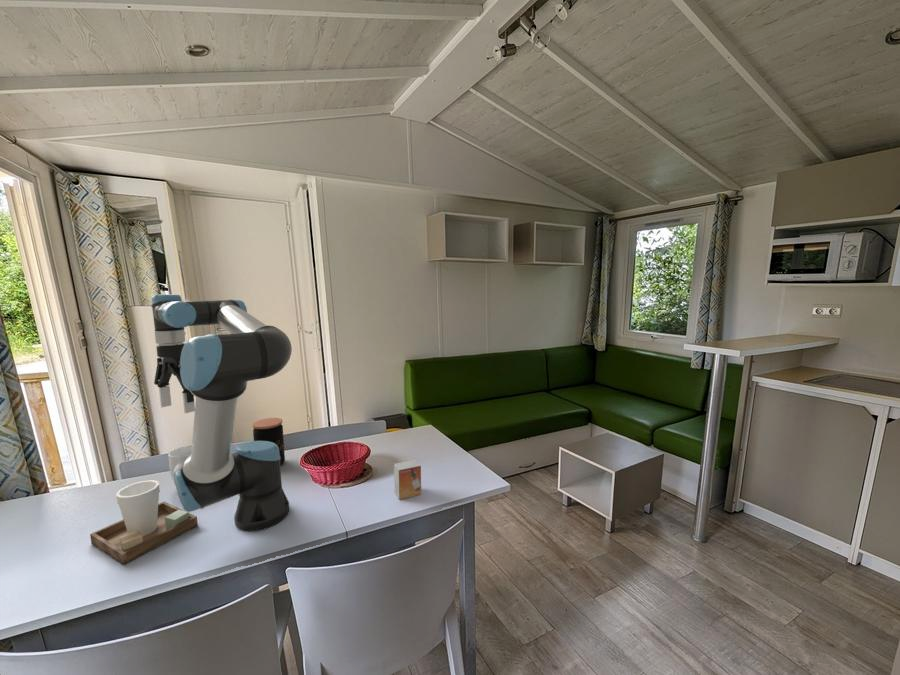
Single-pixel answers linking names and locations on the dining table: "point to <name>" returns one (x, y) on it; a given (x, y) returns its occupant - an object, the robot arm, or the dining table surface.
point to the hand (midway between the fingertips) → (177, 409)
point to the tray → (111, 535)
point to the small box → (407, 479)
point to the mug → (178, 458)
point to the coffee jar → (270, 433)
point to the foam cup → (140, 506)
